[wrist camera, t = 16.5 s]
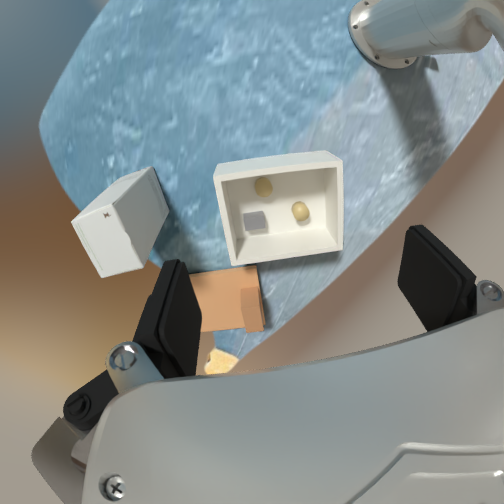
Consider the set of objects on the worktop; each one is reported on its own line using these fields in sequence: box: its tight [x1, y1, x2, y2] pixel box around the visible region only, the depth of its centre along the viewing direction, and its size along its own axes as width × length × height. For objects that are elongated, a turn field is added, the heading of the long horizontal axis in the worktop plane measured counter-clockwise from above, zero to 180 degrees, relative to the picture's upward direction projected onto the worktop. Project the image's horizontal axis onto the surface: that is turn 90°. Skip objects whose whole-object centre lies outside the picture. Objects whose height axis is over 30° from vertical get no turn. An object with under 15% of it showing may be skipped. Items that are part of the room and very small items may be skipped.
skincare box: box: [71, 166, 169, 278], centre depth 33 cm, size 8×7×16 cm
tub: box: [213, 151, 343, 266], centre depth 38 cm, size 16×13×7 cm
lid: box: [189, 265, 266, 333], centre depth 48 cm, size 17×14×7 cm
